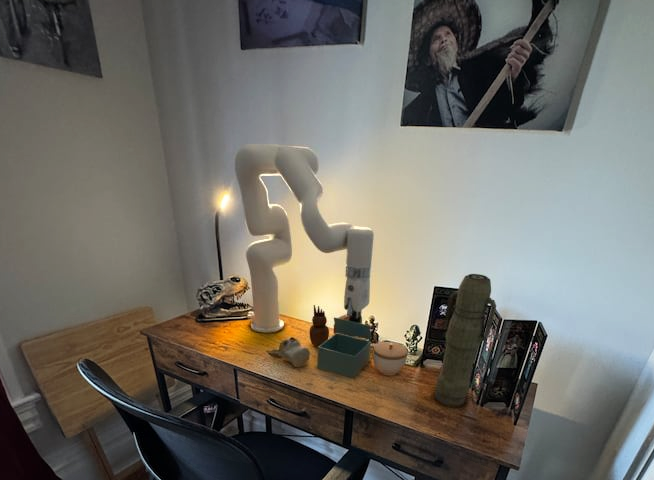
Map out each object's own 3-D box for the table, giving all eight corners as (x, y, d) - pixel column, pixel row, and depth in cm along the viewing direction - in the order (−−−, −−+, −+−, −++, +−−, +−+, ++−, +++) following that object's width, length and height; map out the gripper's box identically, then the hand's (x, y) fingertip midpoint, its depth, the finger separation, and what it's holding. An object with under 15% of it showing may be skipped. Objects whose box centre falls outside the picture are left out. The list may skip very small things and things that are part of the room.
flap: (333, 317, 121) (333, 317, 121) (336, 331, 126) (336, 331, 126) (369, 326, 117) (369, 325, 117) (370, 340, 122) (371, 339, 122)
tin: (338, 342, 137) (339, 321, 133) (331, 340, 139) (332, 318, 134) (362, 330, 148) (363, 310, 143) (355, 328, 149) (356, 308, 145)
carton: (317, 367, 121) (317, 347, 117) (335, 352, 130) (336, 333, 127) (353, 377, 116) (355, 356, 112) (369, 361, 126) (371, 341, 122)
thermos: (435, 384, 115) (459, 268, 97) (474, 397, 110) (506, 277, 92) (424, 397, 108) (447, 275, 90) (464, 412, 103) (498, 285, 85)
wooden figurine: (307, 347, 133) (307, 306, 125) (311, 340, 138) (311, 300, 130) (326, 349, 132) (327, 308, 124) (330, 342, 137) (331, 302, 129)
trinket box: (386, 359, 128) (389, 334, 123) (411, 371, 121) (415, 345, 116) (364, 369, 121) (366, 343, 116) (390, 383, 115) (393, 355, 110)
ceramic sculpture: (291, 348, 112) (263, 334, 121) (293, 374, 116) (265, 359, 125) (319, 339, 118) (289, 327, 127) (319, 364, 122) (291, 350, 132)
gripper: (359, 279, 106) (355, 339, 116) (378, 268, 118) (373, 323, 128) (335, 275, 109) (333, 334, 119) (356, 264, 121) (353, 318, 130)
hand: (354, 328), depth 123 cm, fingers closed
